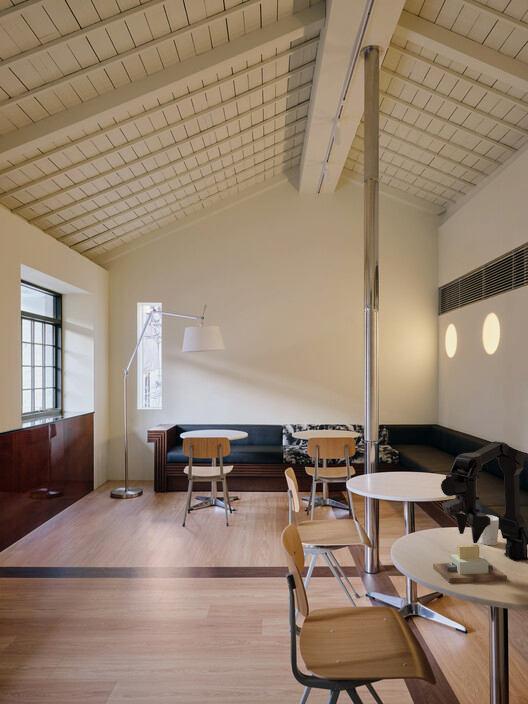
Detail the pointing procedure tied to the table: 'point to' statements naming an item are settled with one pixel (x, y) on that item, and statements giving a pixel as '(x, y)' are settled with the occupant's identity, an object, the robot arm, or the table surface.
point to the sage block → (469, 560)
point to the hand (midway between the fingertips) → (468, 538)
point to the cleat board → (453, 576)
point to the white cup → (490, 532)
